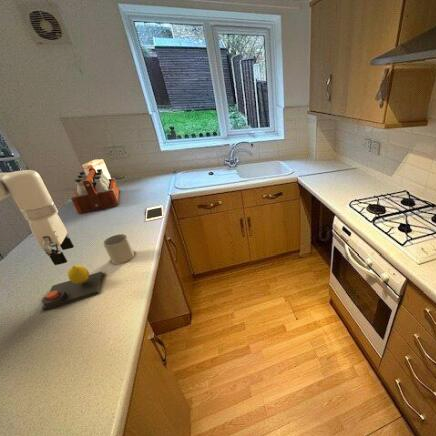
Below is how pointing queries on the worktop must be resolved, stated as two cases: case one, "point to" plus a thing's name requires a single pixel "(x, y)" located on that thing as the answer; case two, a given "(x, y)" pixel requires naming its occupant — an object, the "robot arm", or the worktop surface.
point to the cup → (118, 248)
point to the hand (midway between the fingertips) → (65, 255)
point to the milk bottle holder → (95, 191)
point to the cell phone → (154, 213)
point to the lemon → (78, 274)
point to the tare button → (52, 295)
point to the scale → (73, 291)
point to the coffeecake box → (96, 167)
